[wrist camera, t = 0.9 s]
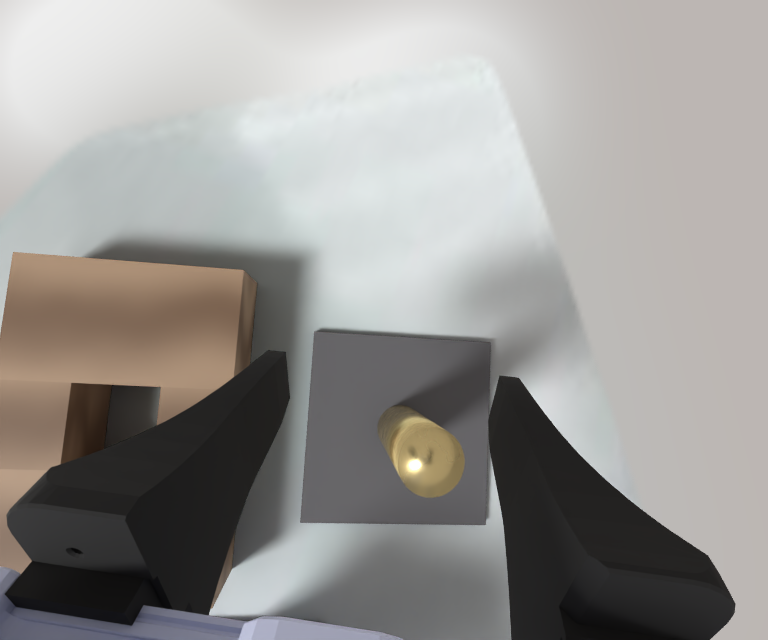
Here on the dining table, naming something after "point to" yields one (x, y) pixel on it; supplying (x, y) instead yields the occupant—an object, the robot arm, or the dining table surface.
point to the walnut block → (106, 357)
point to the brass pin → (421, 451)
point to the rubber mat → (360, 420)
